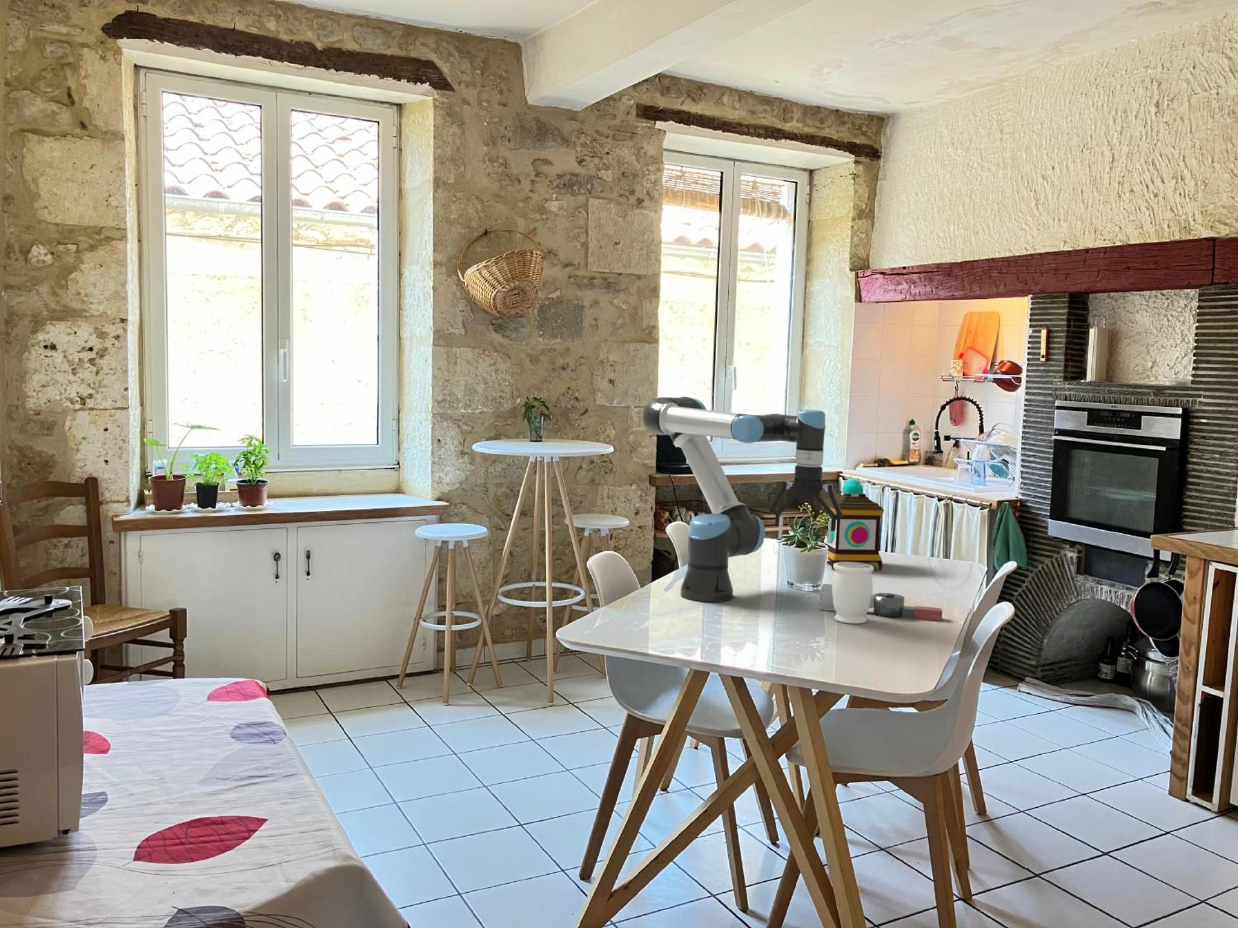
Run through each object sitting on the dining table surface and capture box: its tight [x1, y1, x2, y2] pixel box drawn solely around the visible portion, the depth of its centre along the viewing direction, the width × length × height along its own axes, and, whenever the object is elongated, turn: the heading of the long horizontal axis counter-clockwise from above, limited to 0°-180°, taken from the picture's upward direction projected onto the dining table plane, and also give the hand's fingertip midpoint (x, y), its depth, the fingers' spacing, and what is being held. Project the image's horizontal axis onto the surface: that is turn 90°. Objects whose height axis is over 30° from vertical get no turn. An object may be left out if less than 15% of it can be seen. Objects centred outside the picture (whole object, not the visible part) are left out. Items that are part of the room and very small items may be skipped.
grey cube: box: [819, 583, 836, 612], centre depth 276 cm, size 6×6×6 cm
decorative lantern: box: [821, 478, 885, 571], centre depth 337 cm, size 20×20×30 cm
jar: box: [831, 562, 874, 625], centre depth 263 cm, size 11×10×15 cm
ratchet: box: [869, 592, 943, 622], centre depth 270 cm, size 22×8×6 cm, turn 73°
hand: (804, 540), depth 277 cm, fingers open, 13 cm apart
